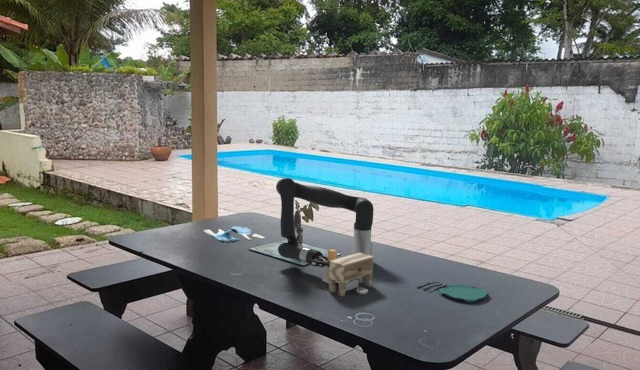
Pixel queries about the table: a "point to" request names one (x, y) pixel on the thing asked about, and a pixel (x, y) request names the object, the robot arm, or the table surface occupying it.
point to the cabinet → (350, 271)
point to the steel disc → (362, 291)
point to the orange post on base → (348, 285)
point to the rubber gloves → (227, 237)
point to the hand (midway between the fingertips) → (336, 265)
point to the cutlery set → (460, 291)
